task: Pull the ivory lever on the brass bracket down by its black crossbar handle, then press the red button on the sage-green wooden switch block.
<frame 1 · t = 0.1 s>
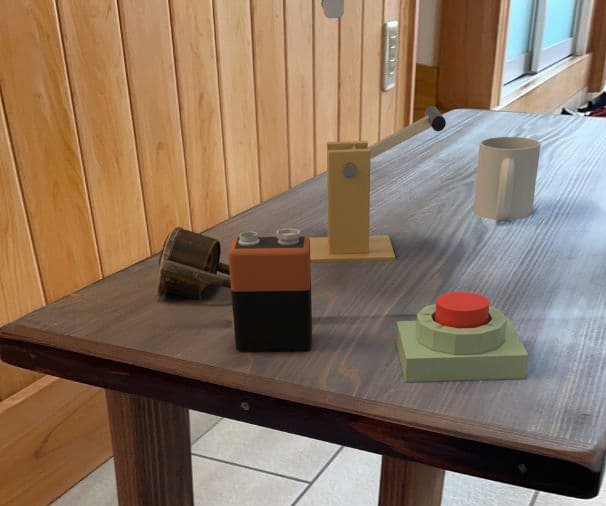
hand: (331, 13, 82), 24 cm above the table, tool pointing down, fingers open, 8 cm apart
button: (462, 311, 71), point 4 cm above the table, slide at 0.1 cm
bracket: (347, 257, 97), on the table
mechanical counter: (218, 304, 87), on the table
switch block: (457, 360, 74), on the table
cup: (501, 223, 107), on the table
battery: (274, 345, 78), on the table
lever: (388, 143, 90), point 12 cm above the table, hinge at 25.0°
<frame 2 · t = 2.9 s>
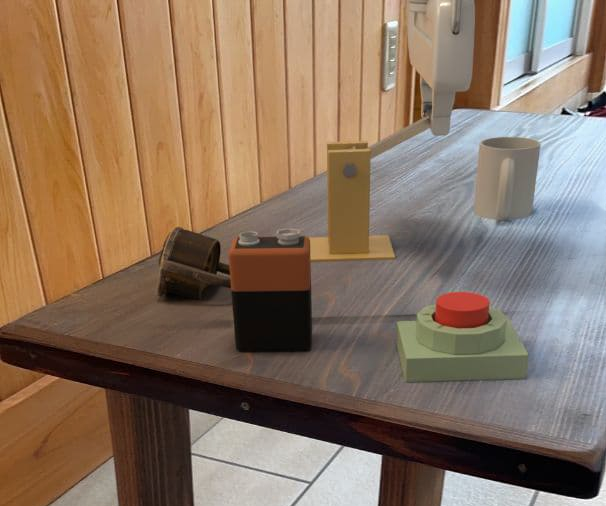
hand: (434, 127, 89), 13 cm above the table, tool pointing down, fingers closed on lever, 6 cm apart
lever: (388, 143, 90), point 12 cm above the table, hinge at 25.0°, touching gripper
everything else where it was.
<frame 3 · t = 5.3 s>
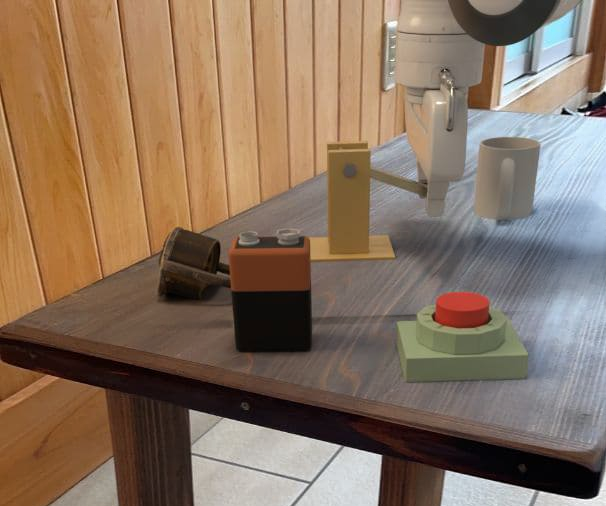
hand: (429, 205, 94), 5 cm above the table, tool pointing down, fingers closed on lever, 6 cm apart
lever: (388, 178, 92), point 8 cm above the table, hinge at -19.3°, touching gripper
everything else where it was.
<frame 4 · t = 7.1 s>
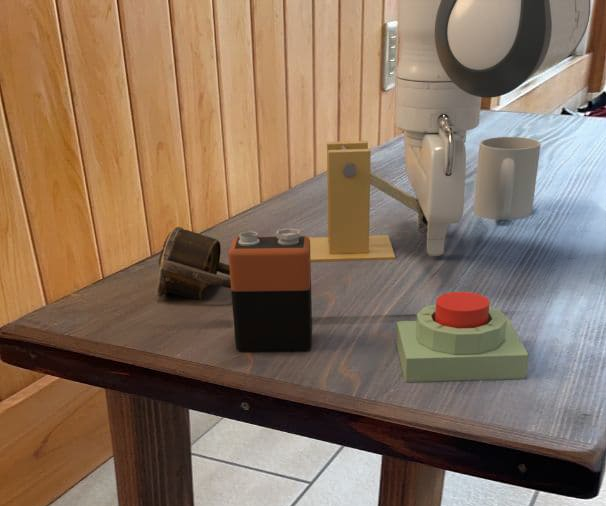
hand: (429, 242, 96), 1 cm above the table, tool pointing down, fingers open, 7 cm apart
lever: (384, 186, 93), point 8 cm above the table, hinge at -30.6°
everything else where it was.
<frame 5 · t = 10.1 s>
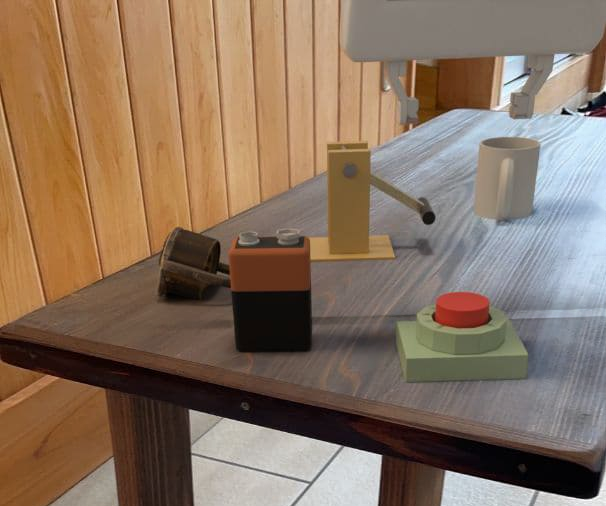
hand: (463, 120, 69), 18 cm above the table, tool pointing down, fingers open, 8 cm apart
nothing on the table moved.
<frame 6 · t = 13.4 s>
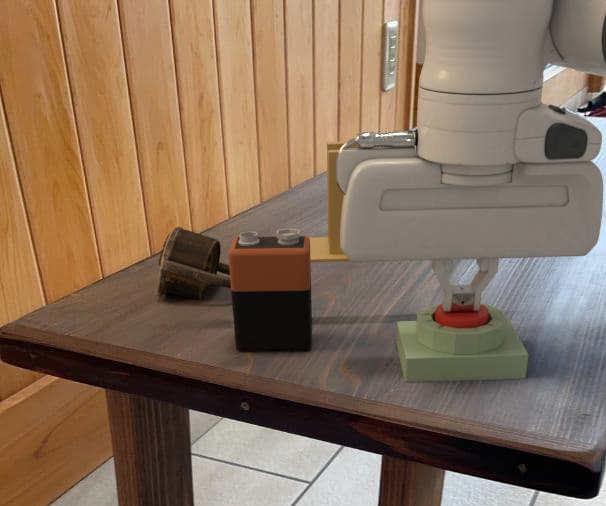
hand: (460, 309, 71), 5 cm above the table, tool pointing down, fingers closed, pressing on button
button: (461, 320, 72), point 4 cm above the table, slide at -0.7 cm, touching gripper
everything else where it was.
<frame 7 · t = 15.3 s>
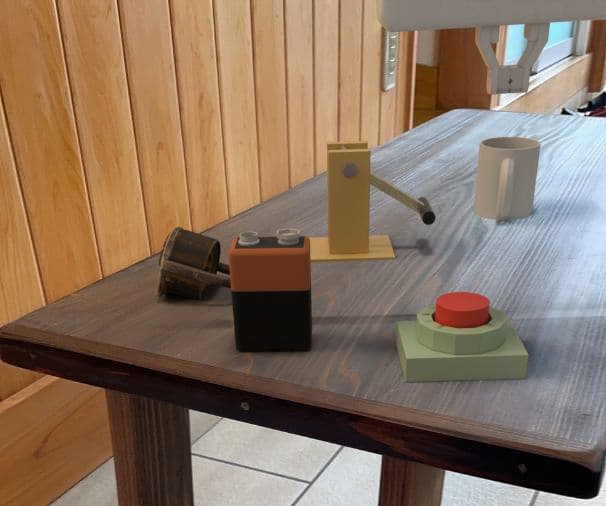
hand: (506, 92, 66), 20 cm above the table, tool pointing down, fingers closed
button: (462, 311, 71), point 4 cm above the table, slide at 0.1 cm
everything else where it was.
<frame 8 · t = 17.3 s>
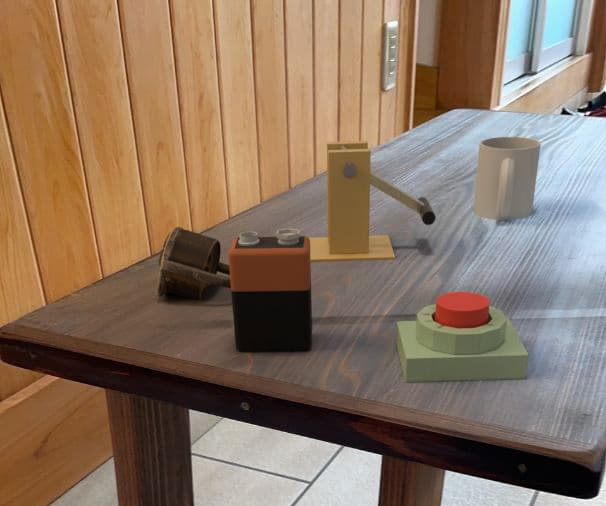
nothing on the table moved.
at the end: lever at -31° (first picture: +25°); button pushed in 1.1 cm at the most during the clip, back to where it started at the end; button slide at 0.1 cm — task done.
